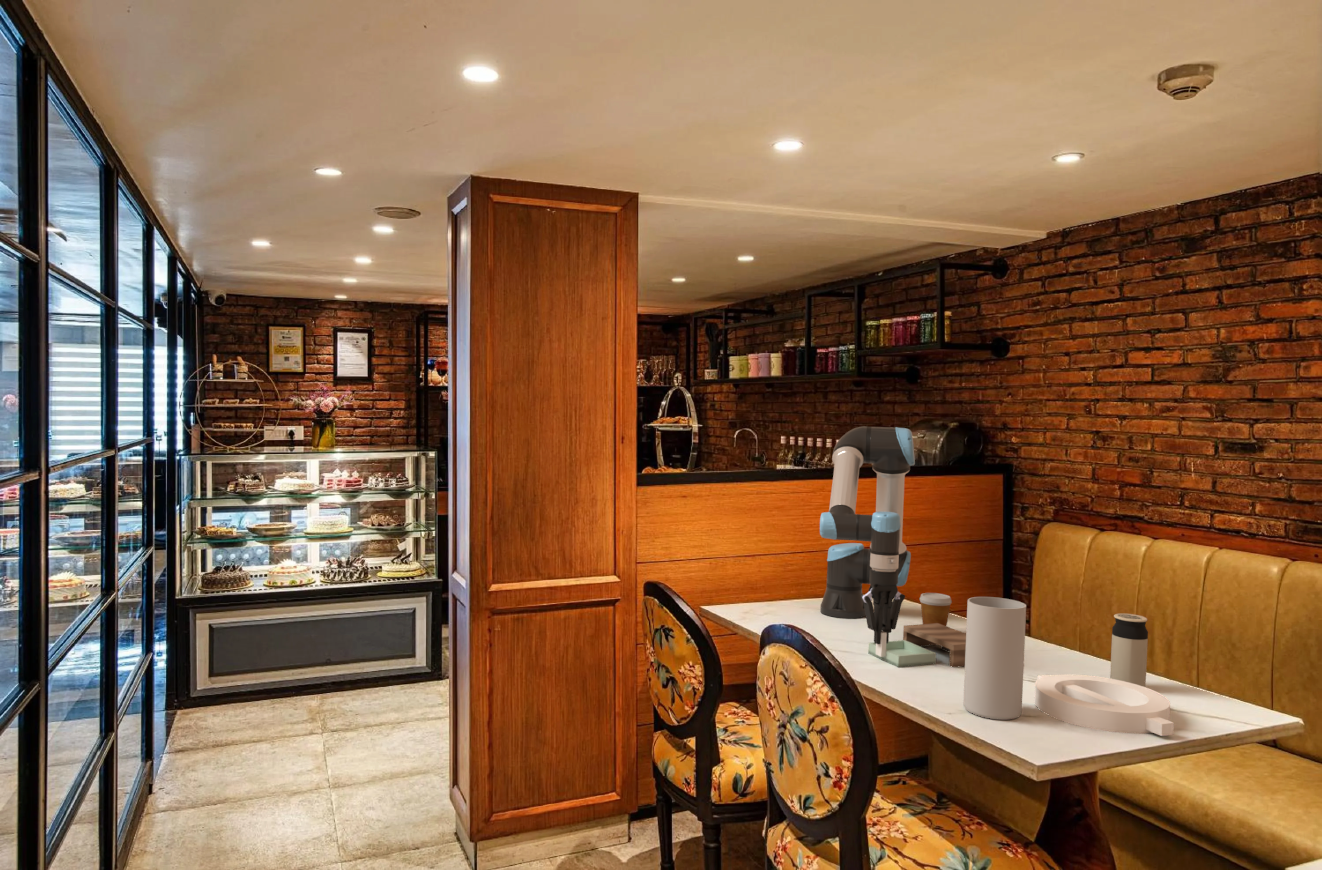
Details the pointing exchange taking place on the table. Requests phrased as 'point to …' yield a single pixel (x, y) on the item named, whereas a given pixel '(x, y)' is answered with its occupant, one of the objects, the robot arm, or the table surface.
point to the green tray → (904, 654)
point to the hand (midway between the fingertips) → (880, 655)
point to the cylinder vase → (994, 657)
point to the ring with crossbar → (1103, 704)
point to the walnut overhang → (938, 640)
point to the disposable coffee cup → (935, 608)
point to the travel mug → (1129, 649)
